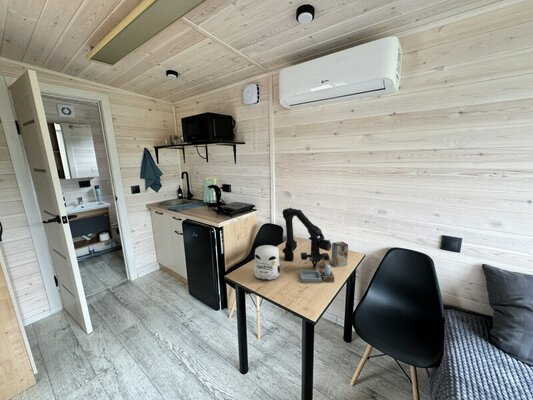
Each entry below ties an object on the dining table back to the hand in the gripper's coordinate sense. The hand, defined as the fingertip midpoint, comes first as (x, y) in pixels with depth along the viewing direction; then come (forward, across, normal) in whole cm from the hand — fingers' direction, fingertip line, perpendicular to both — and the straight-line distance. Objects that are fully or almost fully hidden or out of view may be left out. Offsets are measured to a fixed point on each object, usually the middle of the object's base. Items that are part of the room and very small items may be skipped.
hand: (314, 267), depth 149 cm
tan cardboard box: (+2, +4, 0) cm, 4 cm away
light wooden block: (+1, +8, 0) cm, 8 cm away
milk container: (+2, -32, -9) cm, 33 cm away
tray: (+1, -4, -11) cm, 12 cm away
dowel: (+1, +6, -12) cm, 13 cm away
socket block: (+1, +6, -12) cm, 13 cm away
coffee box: (+1, +19, +8) cm, 21 cm away
